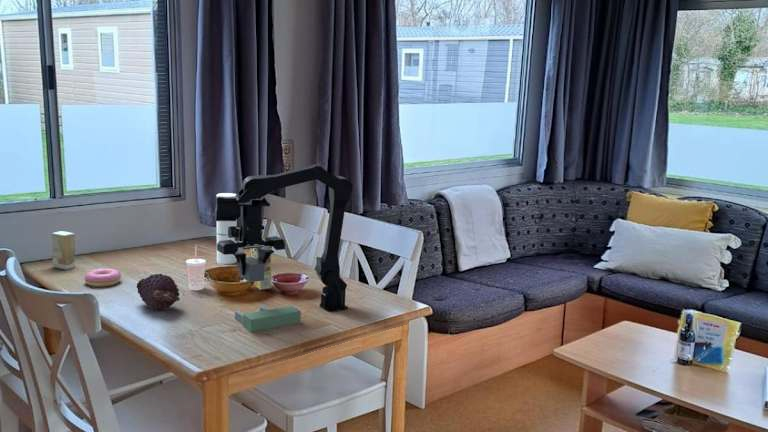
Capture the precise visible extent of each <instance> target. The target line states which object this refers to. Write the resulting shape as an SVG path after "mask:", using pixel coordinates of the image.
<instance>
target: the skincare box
mask: <svg viewBox="0 0 768 432" xmlns="http://www.w3.org/2000/svg"><path fill="white" fill-rule="evenodd" d="M75 235H76V234H75V233H74V232H70V231H64V230H61V231H54V232H52V233H51V245H52V246H51V247H52V248H51V250H52V268H57V269H61V270H70V269H73V268H75V267H76V241H75V239H76V238H75Z"/></svg>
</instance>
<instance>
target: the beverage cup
mask: <svg viewBox="0 0 768 432" xmlns="http://www.w3.org/2000/svg"><path fill="white" fill-rule="evenodd" d="M197 247H198V246H197V245H195V246H194V258H190V259H187V260H186V261H185V263H186V268H187V269H186V270H187V281H188V282H187V283H188V290H190V291H199V290H203V289H204V287H205V286H204V285H205V268H206V266H205V265H206V264H207V262H206V259H203V258H197V256H198V255H197V253H198V252H197V249H198V248H197Z"/></svg>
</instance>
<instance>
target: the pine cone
mask: <svg viewBox="0 0 768 432" xmlns="http://www.w3.org/2000/svg"><path fill="white" fill-rule="evenodd" d="M136 288H137V294H139V297H140V298H141V301H142V302H144V304H145V306H147V307H149V308H150V309H156V310H159V309H161V310H166V309H169V308H170V307H171V306H173V305H174V304H175V303H176V302H178V301H180V300H181V298H180V293H179V290H180V289H179V288H178V285H177V284H176V283H175V280H173V278H172V277H171V276H170V275H167V274H162V273H155V274H150V275H149V276H148V277H146V278H141V280H139V281H138V282H137V283H136Z"/></svg>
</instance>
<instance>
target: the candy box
mask: <svg viewBox="0 0 768 432" xmlns="http://www.w3.org/2000/svg"><path fill="white" fill-rule="evenodd" d="M262 239H263V240H264V241H265V239H264V238H263V237H262ZM255 245H258V244H255ZM249 257H254V258H256V259H258V250H257V248H250V249H249ZM253 286H255V287H256V288H257V289H259V290H260V291H261V290H268V289H272V254H271V255H270V257H269V258H268V260H267V261H266V263H265V265H264V281H256V282H255V284H254V285H253Z"/></svg>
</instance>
